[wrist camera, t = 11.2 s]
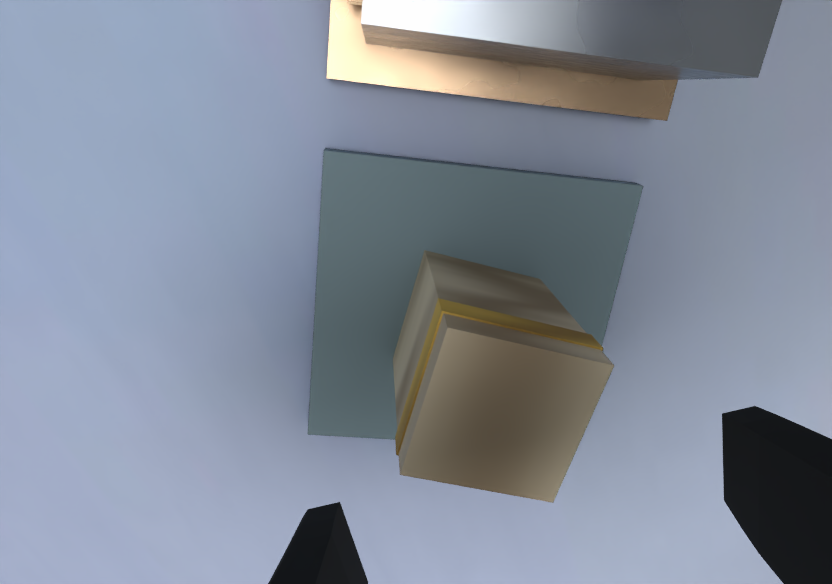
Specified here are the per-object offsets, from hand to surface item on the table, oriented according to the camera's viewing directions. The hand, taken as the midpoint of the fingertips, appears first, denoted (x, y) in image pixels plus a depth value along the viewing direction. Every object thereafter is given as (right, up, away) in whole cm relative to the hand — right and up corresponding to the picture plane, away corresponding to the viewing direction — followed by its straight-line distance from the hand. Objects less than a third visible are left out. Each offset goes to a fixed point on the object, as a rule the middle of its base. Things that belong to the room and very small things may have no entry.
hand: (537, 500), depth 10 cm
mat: (-1, +3, +9) cm, 9 cm away
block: (-1, +3, +8) cm, 9 cm away
